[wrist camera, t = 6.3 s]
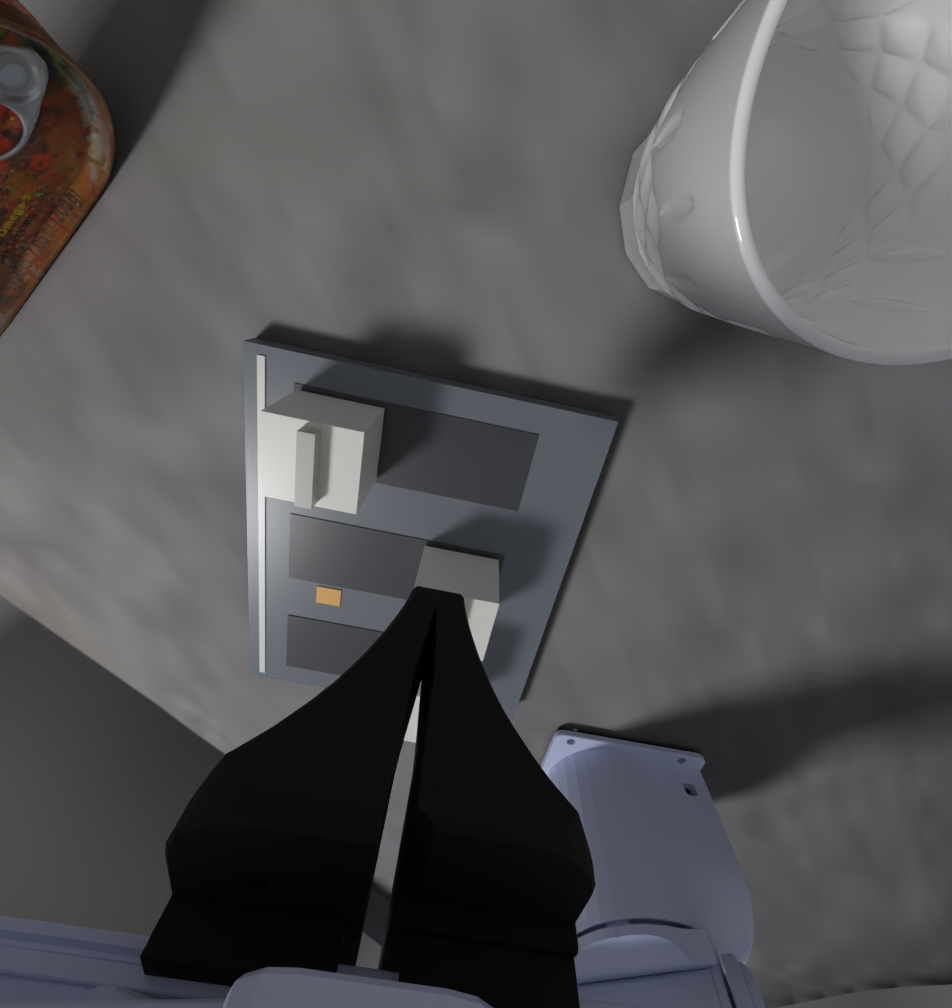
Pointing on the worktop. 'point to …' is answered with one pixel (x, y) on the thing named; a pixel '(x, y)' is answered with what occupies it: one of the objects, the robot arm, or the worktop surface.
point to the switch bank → (414, 513)
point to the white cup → (808, 179)
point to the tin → (44, 152)
